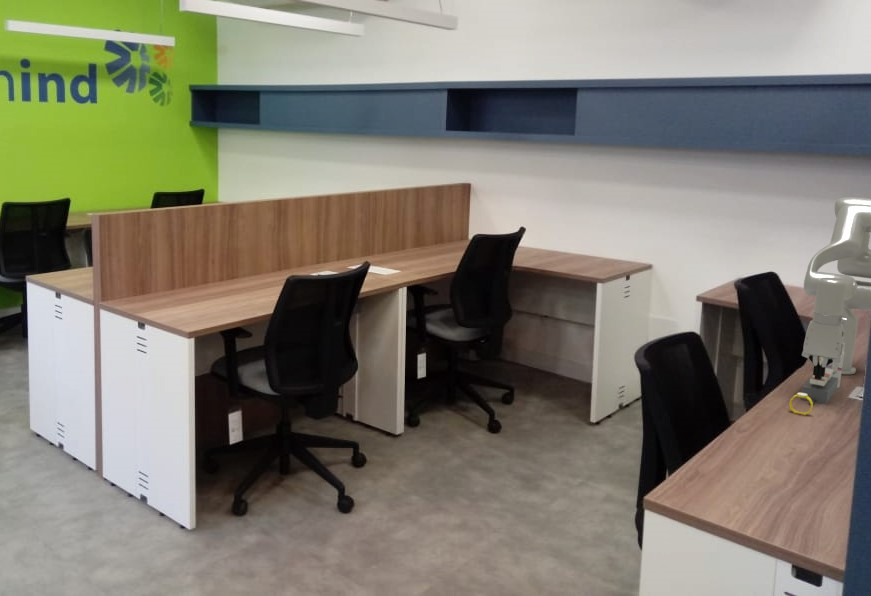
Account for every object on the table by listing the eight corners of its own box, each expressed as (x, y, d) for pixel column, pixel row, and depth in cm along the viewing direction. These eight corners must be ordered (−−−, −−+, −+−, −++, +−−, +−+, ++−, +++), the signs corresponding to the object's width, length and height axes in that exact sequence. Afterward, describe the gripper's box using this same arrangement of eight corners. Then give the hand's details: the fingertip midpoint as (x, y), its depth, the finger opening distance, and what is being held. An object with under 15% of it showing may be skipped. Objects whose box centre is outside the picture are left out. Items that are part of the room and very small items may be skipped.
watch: (788, 413, 227) (789, 393, 226) (790, 410, 230) (791, 391, 229) (810, 416, 224) (812, 396, 223) (812, 414, 226) (814, 394, 225)
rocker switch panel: (812, 385, 254) (814, 371, 253) (836, 390, 250) (838, 375, 249) (797, 402, 236) (800, 387, 235) (823, 408, 232) (825, 392, 231)
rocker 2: (819, 370, 251) (819, 366, 250) (832, 373, 248) (833, 369, 248) (815, 378, 247) (815, 373, 246) (829, 380, 244) (829, 376, 244)
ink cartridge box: (816, 379, 261) (822, 335, 258) (832, 380, 261) (838, 337, 257) (823, 386, 253) (829, 342, 250) (839, 388, 252) (846, 343, 249)
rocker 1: (813, 379, 244) (813, 374, 243) (827, 382, 241) (828, 377, 241) (809, 383, 239) (810, 378, 239) (823, 386, 237) (824, 381, 237)
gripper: (856, 321, 233) (847, 380, 237) (802, 312, 242) (794, 370, 246) (852, 325, 227) (843, 386, 231) (797, 317, 236) (789, 376, 240)
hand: (818, 378), depth 238 cm, fingers closed
